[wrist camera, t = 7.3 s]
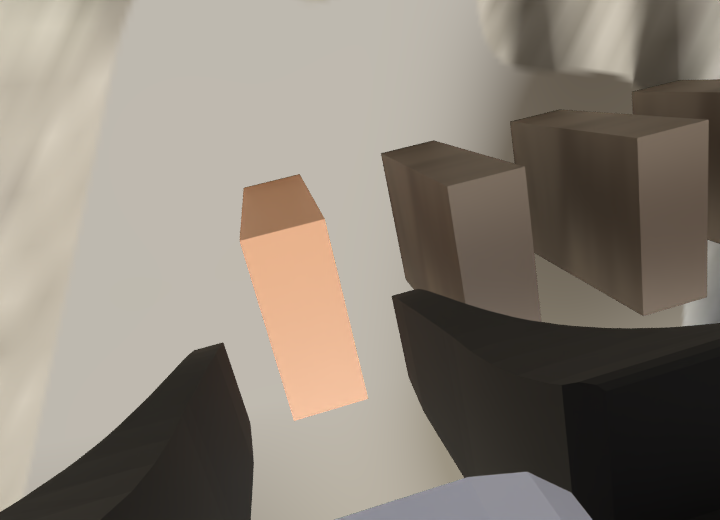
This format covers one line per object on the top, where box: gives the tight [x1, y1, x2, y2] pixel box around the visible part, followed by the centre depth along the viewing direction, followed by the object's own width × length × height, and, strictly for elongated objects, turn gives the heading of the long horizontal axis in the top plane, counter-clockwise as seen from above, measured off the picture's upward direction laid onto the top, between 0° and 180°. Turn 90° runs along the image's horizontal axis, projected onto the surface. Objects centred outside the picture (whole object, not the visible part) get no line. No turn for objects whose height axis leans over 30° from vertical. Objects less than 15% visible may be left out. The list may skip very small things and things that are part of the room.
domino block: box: [381, 141, 541, 322], centre depth 17 cm, size 5×2×7 cm, turn 12°
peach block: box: [240, 174, 368, 421], centre depth 16 cm, size 5×2×7 cm, turn 12°
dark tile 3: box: [510, 110, 709, 316], centre depth 18 cm, size 5×2×7 cm, turn 12°
